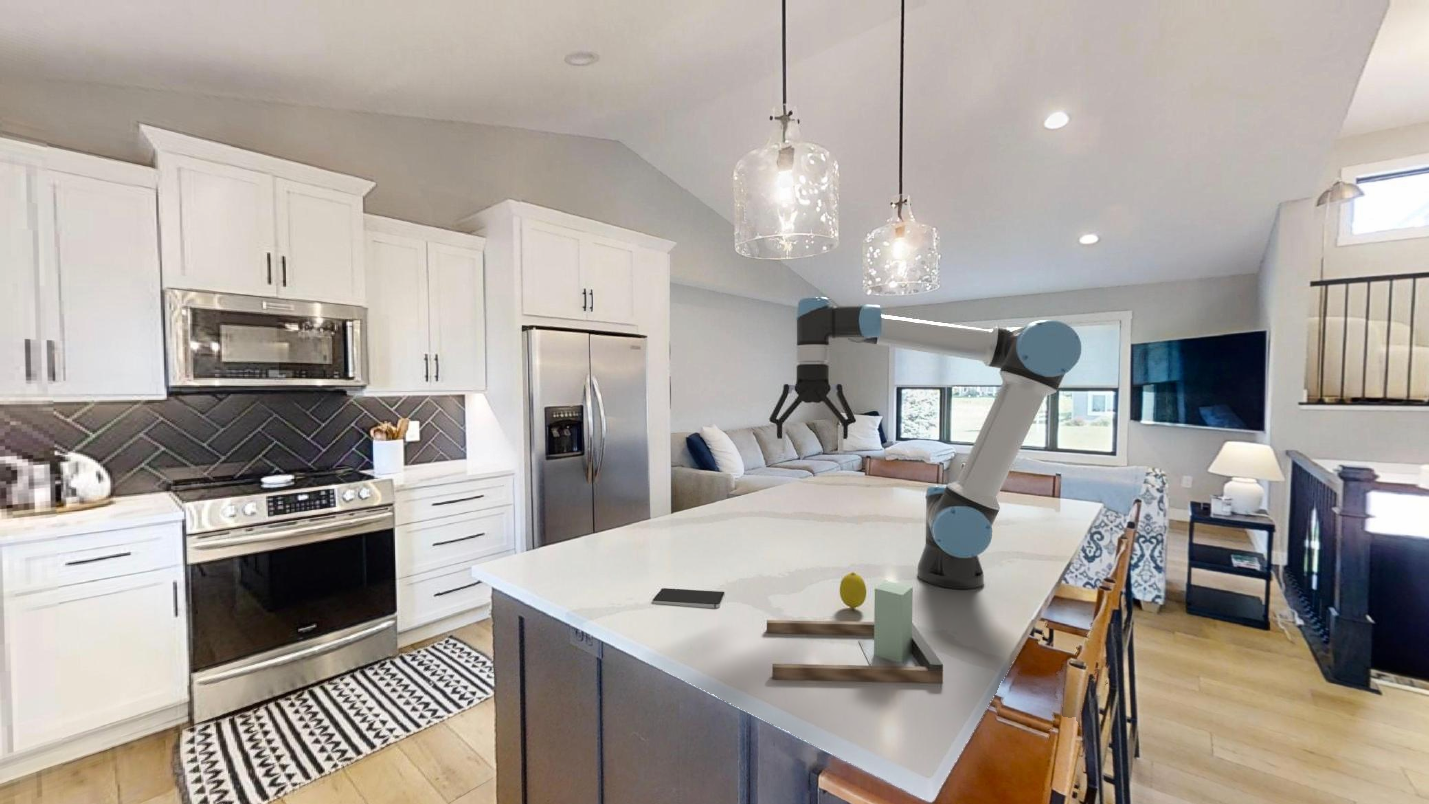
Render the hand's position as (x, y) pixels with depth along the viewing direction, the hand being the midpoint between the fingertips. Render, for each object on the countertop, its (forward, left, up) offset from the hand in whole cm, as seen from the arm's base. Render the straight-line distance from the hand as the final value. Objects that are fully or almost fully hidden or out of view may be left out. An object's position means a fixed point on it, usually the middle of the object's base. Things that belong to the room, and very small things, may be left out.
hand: (811, 452), depth 135 cm
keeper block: (-10, +35, -31) cm, 48 cm away
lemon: (-7, +15, -32) cm, 36 cm away
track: (-2, +35, -32) cm, 47 cm away
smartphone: (+29, +11, -32) cm, 44 cm away
